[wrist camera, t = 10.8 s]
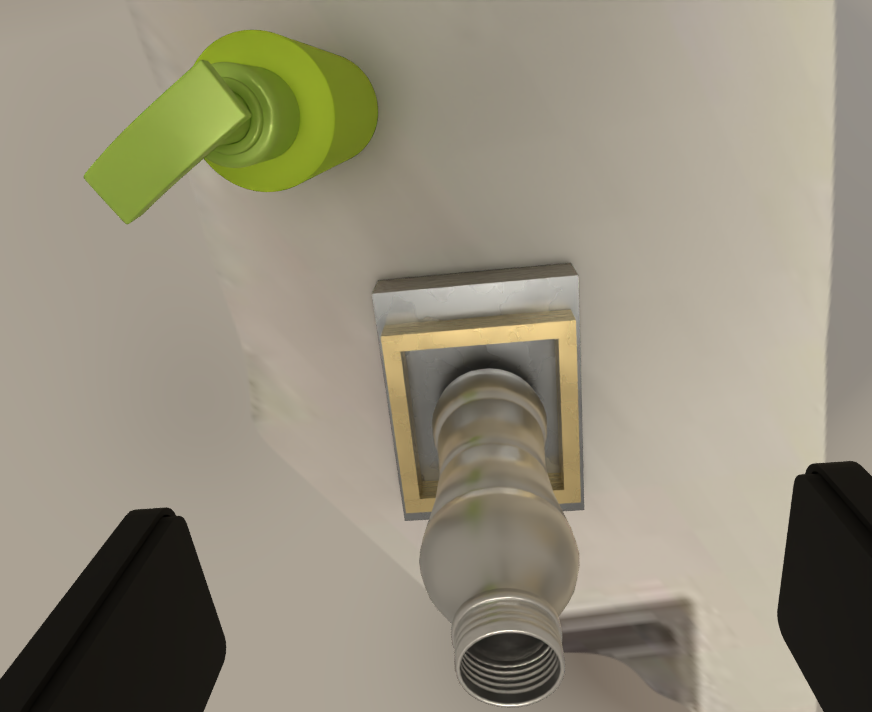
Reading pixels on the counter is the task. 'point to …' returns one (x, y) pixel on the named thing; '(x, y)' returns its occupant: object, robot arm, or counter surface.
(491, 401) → the plastic bottle
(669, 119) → the counter surface
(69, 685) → the robot arm
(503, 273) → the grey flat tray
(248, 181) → the soap dispenser
